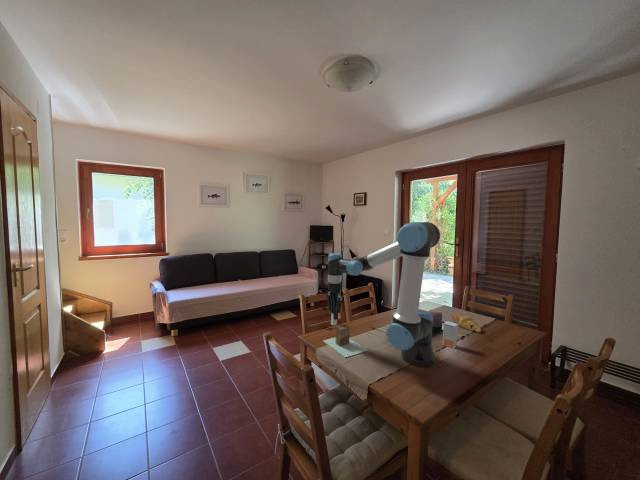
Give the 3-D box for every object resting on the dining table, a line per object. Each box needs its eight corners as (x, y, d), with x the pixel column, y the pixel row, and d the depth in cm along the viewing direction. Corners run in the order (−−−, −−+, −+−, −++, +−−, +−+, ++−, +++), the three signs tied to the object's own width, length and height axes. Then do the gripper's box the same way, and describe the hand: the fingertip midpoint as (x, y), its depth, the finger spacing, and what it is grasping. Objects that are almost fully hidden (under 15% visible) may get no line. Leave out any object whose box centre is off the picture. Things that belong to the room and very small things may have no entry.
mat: (367, 350, 134) (367, 350, 134) (345, 358, 127) (345, 357, 127) (344, 335, 151) (344, 334, 151) (322, 341, 144) (322, 340, 144)
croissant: (483, 338, 157) (489, 326, 158) (472, 332, 154) (478, 320, 154) (455, 324, 177) (460, 313, 178) (444, 318, 174) (450, 307, 174)
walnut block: (349, 343, 141) (349, 327, 140) (339, 346, 138) (340, 329, 137) (344, 340, 144) (345, 324, 143) (335, 343, 141) (335, 326, 140)
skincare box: (442, 345, 141) (443, 323, 140) (444, 342, 144) (446, 320, 143) (454, 349, 137) (455, 326, 136) (457, 346, 140) (458, 323, 139)
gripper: (347, 283, 141) (346, 327, 143) (333, 278, 152) (333, 319, 154) (335, 285, 137) (335, 330, 139) (322, 280, 149) (322, 321, 151)
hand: (334, 324), depth 147 cm, fingers closed
